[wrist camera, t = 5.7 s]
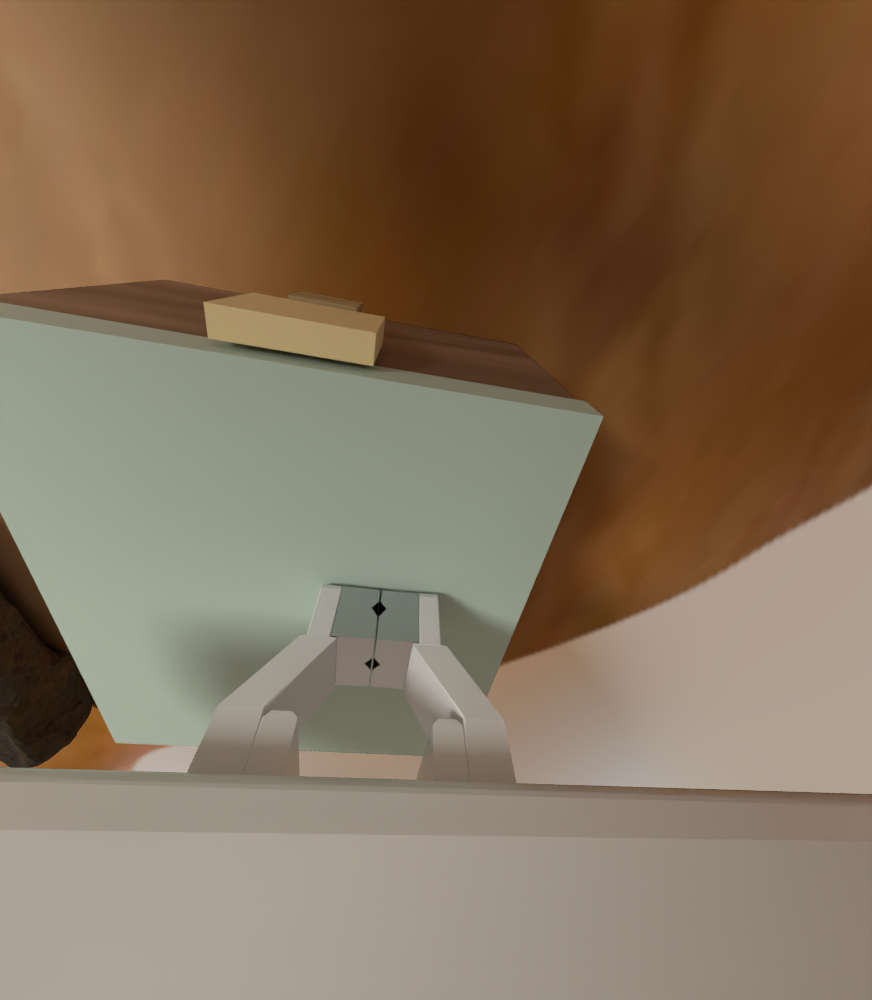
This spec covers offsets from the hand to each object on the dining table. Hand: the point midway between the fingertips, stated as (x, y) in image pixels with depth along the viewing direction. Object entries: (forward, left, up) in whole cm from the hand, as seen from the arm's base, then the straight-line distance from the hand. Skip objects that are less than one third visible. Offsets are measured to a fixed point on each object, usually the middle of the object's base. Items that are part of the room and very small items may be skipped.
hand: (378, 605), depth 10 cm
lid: (+1, -2, -3) cm, 4 cm away
